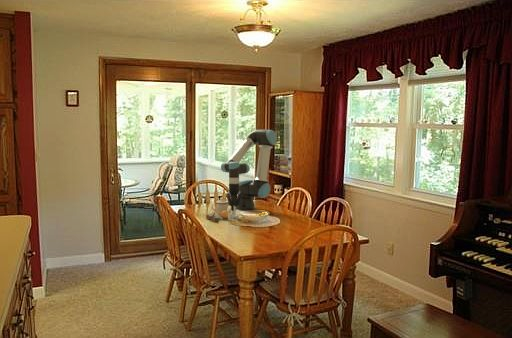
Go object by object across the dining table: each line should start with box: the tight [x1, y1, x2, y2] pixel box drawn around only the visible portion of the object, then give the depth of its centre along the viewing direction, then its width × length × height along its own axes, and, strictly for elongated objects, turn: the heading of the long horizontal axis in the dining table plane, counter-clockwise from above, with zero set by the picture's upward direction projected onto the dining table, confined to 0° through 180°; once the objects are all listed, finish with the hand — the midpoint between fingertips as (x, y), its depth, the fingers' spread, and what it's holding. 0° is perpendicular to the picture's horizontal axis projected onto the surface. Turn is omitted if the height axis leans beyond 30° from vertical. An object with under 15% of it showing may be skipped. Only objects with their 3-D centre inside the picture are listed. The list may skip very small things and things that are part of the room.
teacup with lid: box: [211, 198, 228, 216], centre depth 344 cm, size 12×9×12 cm
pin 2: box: [227, 207, 232, 222], centre depth 321 cm, size 2×2×8 cm
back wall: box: [205, 213, 219, 223], centre depth 322 cm, size 14×2×3 cm, turn 35°
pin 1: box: [209, 210, 221, 220], centre depth 323 cm, size 2×2×8 cm
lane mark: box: [219, 215, 240, 221], centre depth 330 cm, size 18×8×1 cm, turn 125°
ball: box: [220, 210, 228, 219], centre depth 327 cm, size 6×6×6 cm
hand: (233, 214), depth 332 cm, fingers closed
